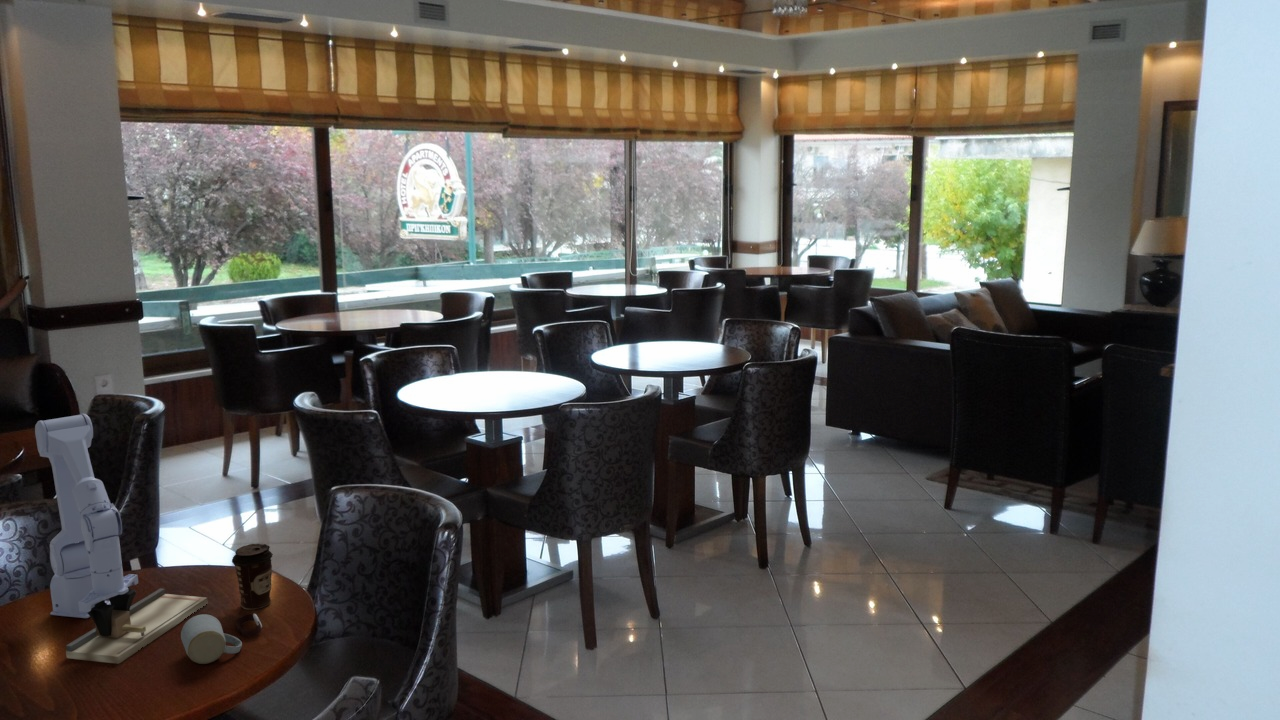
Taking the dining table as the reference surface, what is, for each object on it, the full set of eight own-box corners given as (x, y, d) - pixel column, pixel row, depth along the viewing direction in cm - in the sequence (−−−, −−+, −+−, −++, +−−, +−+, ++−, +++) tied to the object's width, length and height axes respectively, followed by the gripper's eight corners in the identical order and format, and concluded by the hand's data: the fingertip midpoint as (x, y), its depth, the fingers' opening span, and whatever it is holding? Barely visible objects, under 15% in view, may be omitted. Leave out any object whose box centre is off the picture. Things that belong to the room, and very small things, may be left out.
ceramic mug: (188, 670, 195) (185, 633, 193) (182, 653, 202) (179, 618, 200) (246, 657, 200) (243, 621, 199) (237, 641, 207) (235, 606, 206)
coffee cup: (284, 596, 228) (279, 542, 225) (267, 612, 220) (262, 556, 217) (247, 595, 229) (242, 541, 226) (229, 611, 221) (223, 555, 218)
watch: (267, 634, 210) (265, 618, 209) (244, 641, 207) (242, 624, 207) (255, 621, 216) (254, 606, 215) (233, 628, 213) (231, 612, 213)
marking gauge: (96, 635, 206) (94, 617, 205) (110, 627, 210) (108, 609, 209) (137, 639, 204) (135, 621, 203) (151, 631, 207) (149, 613, 207)
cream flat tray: (66, 658, 200) (65, 645, 200) (160, 599, 227) (159, 588, 227) (118, 663, 198) (117, 651, 197) (207, 603, 225) (206, 592, 224)
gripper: (97, 583, 197) (105, 648, 199) (147, 555, 211) (154, 616, 213) (66, 580, 198) (74, 644, 201) (118, 553, 212) (125, 613, 215)
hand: (113, 630), depth 207 cm, fingers closed on marking gauge, 4 cm apart
